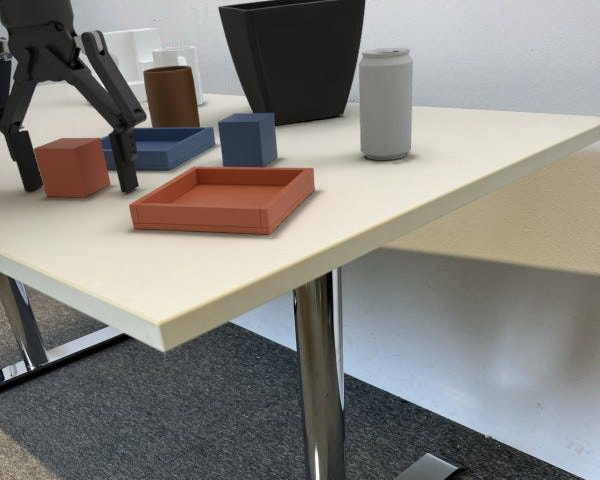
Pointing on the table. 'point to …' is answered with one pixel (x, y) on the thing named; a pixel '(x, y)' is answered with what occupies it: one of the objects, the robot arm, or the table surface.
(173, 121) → the mug
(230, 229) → the terracotta tray
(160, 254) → the table surface
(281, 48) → the flower pot
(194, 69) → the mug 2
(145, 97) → the tape dispenser
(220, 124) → the blue block
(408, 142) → the beverage can
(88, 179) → the terracotta block
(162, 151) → the blue tray
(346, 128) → the table surface
